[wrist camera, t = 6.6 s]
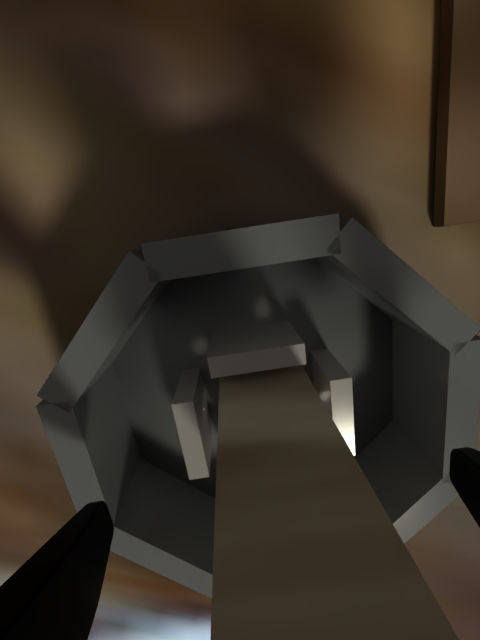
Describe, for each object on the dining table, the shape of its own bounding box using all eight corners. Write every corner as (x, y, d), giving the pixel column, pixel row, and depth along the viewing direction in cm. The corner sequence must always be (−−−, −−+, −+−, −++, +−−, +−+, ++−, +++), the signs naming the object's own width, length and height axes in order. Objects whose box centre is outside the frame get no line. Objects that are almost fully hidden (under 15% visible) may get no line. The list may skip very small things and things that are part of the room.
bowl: (404, 480, 15) (464, 565, 11) (145, 518, 15) (116, 616, 11) (407, 203, 11) (498, 188, 8) (64, 255, 11) (-18, 267, 8)
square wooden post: (299, 418, 13) (515, 962, 3) (229, 427, 13) (243, 1003, 3) (295, 353, 12) (572, 835, 2) (219, 363, 12) (202, 888, 2)
